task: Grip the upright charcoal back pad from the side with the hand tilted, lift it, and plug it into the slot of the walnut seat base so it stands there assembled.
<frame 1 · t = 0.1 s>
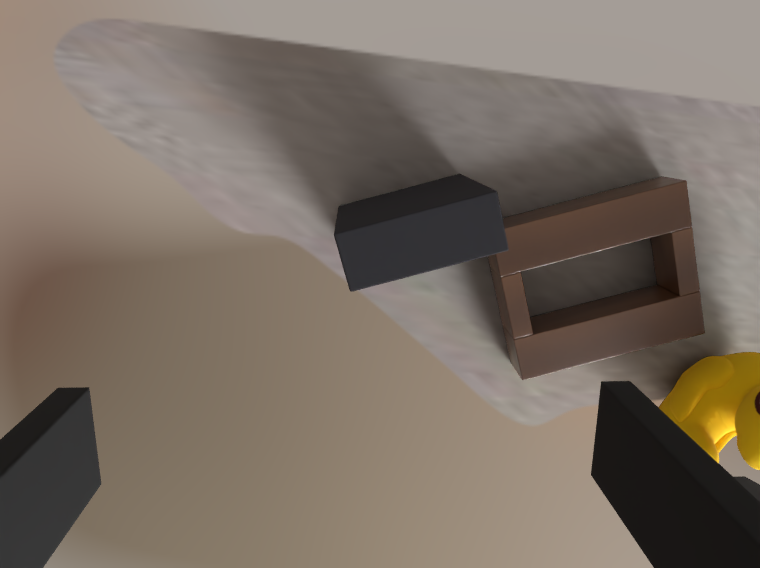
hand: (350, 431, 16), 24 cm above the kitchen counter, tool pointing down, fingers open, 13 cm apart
duckling: (702, 380, 43), on the kitchen counter
back pad: (404, 212, 39), on the kitchen counter
seat base: (583, 272, 40), on the kitchen counter
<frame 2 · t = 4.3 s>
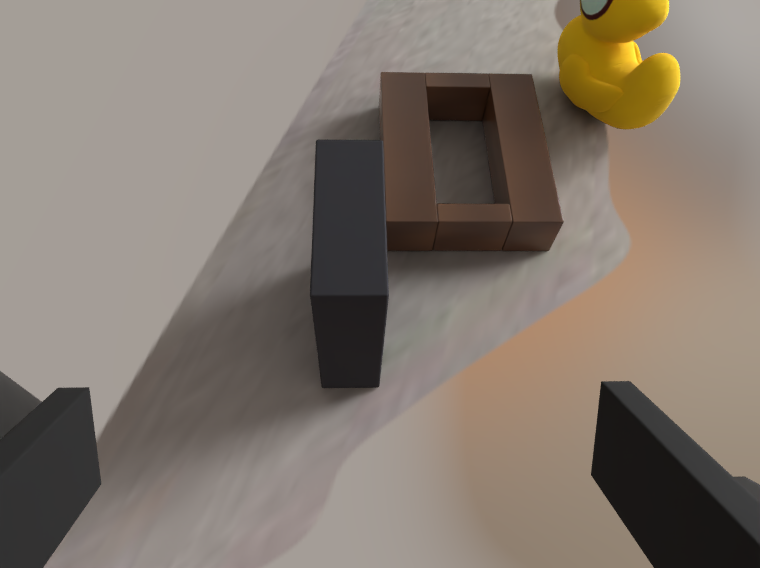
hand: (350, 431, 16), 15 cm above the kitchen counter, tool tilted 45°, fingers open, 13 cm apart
duckling: (589, 100, 43), on the kitchen counter
back pad: (350, 319, 34), on the kitchen counter
seat base: (458, 173, 39), on the kitchen counter
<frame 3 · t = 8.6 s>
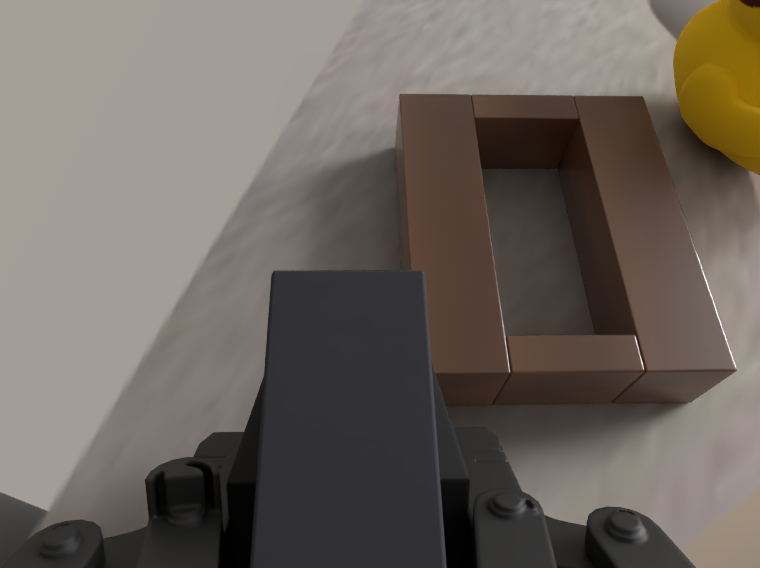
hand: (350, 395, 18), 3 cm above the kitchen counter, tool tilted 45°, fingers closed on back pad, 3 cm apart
duckling: (717, 134, 28), on the kitchen counter
back pad: (351, 551, 18), on the kitchen counter, touching gripper
seat base: (526, 259, 24), on the kitchen counter
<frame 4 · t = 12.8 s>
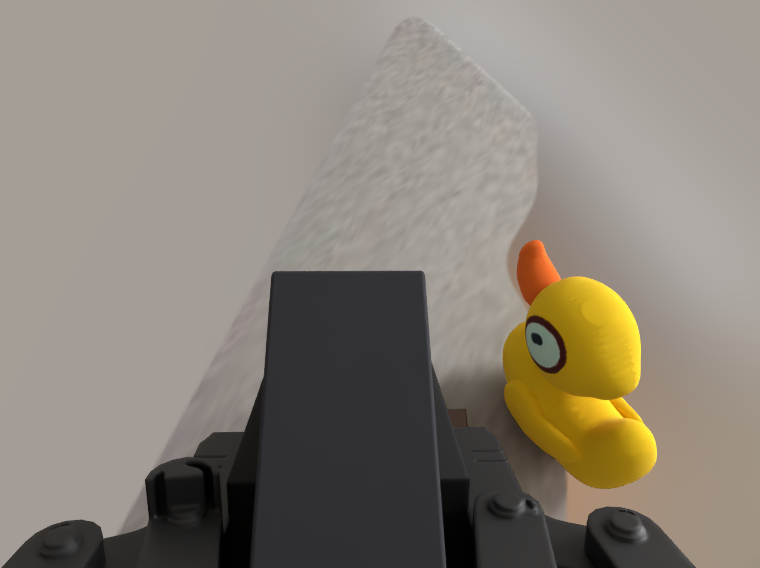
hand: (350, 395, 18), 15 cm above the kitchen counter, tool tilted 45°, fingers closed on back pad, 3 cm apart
duckling: (545, 407, 34), on the kitchen counter
back pad: (351, 552, 18), point 12 cm above the kitchen counter, touching gripper
seat base: (368, 546, 30), on the kitchen counter
when the fingers open (4 cm above the kitchen counter, at t = 17.2 s): back pad stays where it is, point 1 cm above the kitchen counter.
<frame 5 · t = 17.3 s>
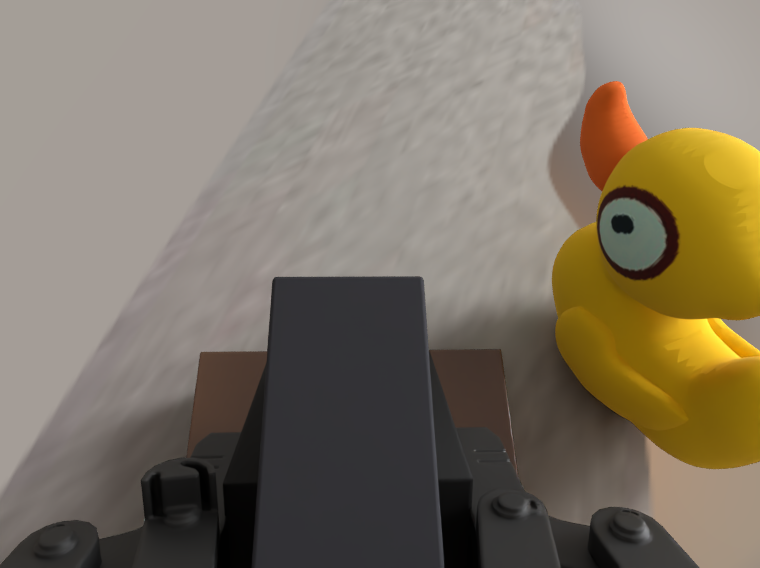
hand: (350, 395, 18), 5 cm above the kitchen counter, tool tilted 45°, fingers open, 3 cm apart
duckling: (610, 356, 24), on the kitchen counter
back pad: (351, 553, 19), point 1 cm above the kitchen counter
seat base: (353, 557, 20), on the kitchen counter
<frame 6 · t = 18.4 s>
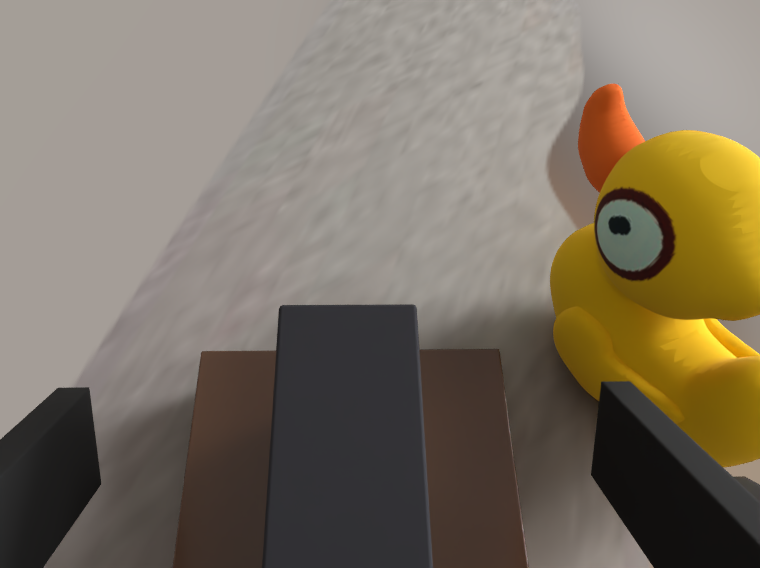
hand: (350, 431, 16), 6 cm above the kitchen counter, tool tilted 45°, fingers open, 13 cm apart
duckling: (608, 356, 24), on the kitchen counter
back pad: (351, 554, 20), resting in seat base
seat base: (352, 554, 20), on the kitchen counter
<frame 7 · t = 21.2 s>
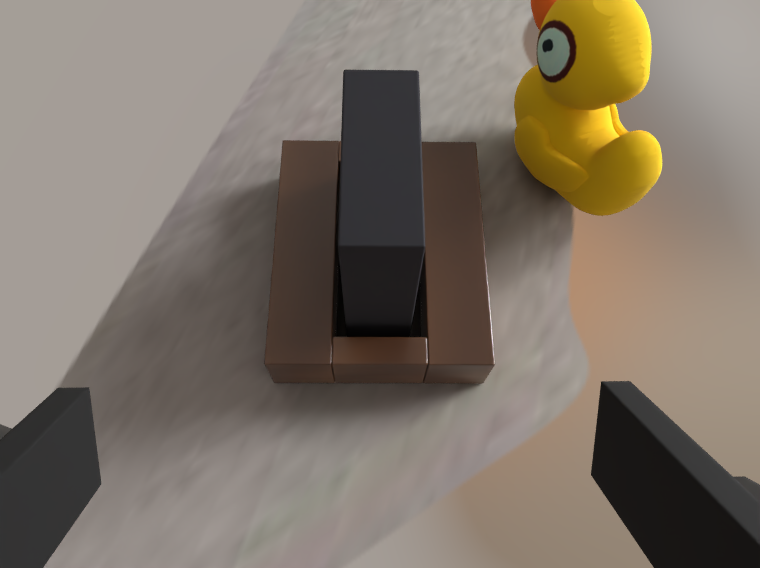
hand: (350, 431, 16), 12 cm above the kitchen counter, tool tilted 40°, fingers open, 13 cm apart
duckling: (555, 163, 35), on the kitchen counter
back pad: (377, 270, 31), resting in seat base
seat base: (378, 270, 31), on the kitchen counter
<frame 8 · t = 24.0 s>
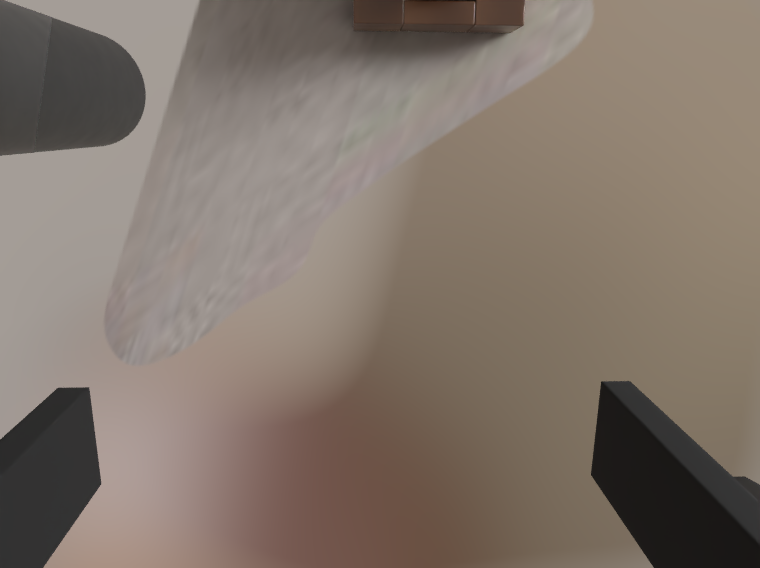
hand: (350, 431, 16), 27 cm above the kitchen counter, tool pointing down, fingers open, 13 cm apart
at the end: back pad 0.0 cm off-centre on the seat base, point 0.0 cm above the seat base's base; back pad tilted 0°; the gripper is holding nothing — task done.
